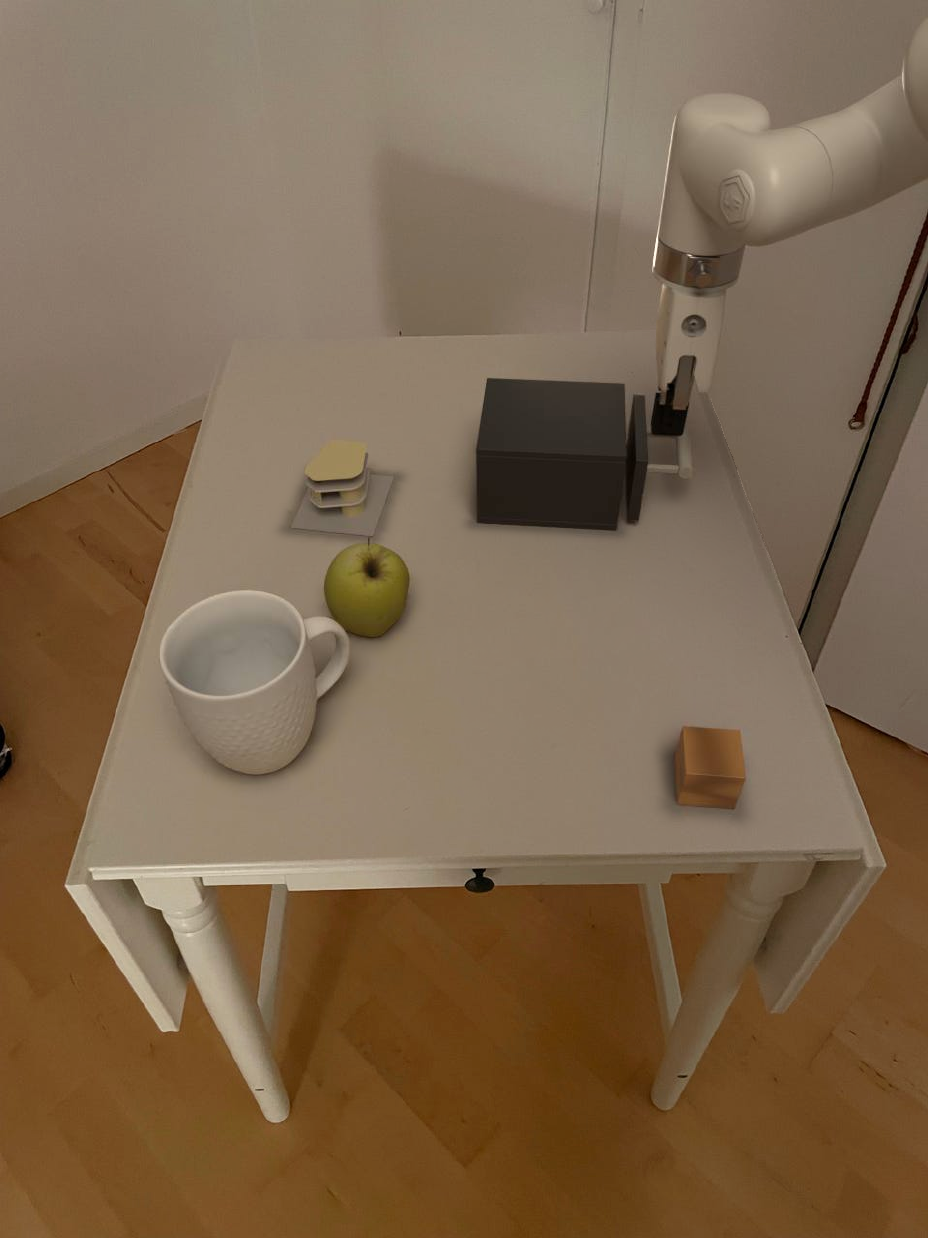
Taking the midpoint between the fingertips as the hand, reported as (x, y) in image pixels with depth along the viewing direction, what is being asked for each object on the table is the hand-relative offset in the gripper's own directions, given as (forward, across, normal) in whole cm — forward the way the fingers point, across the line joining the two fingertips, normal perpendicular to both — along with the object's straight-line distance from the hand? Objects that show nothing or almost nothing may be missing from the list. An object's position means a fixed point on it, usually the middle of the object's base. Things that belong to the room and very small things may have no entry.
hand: (666, 430), depth 93 cm
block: (+8, -37, -2) cm, 38 cm away
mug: (+8, -35, +34) cm, 49 cm away
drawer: (+7, 0, +6) cm, 10 cm away
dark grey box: (+8, 0, +12) cm, 14 cm away
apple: (+8, -21, +28) cm, 36 cm away
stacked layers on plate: (+8, -4, +34) cm, 35 cm away
